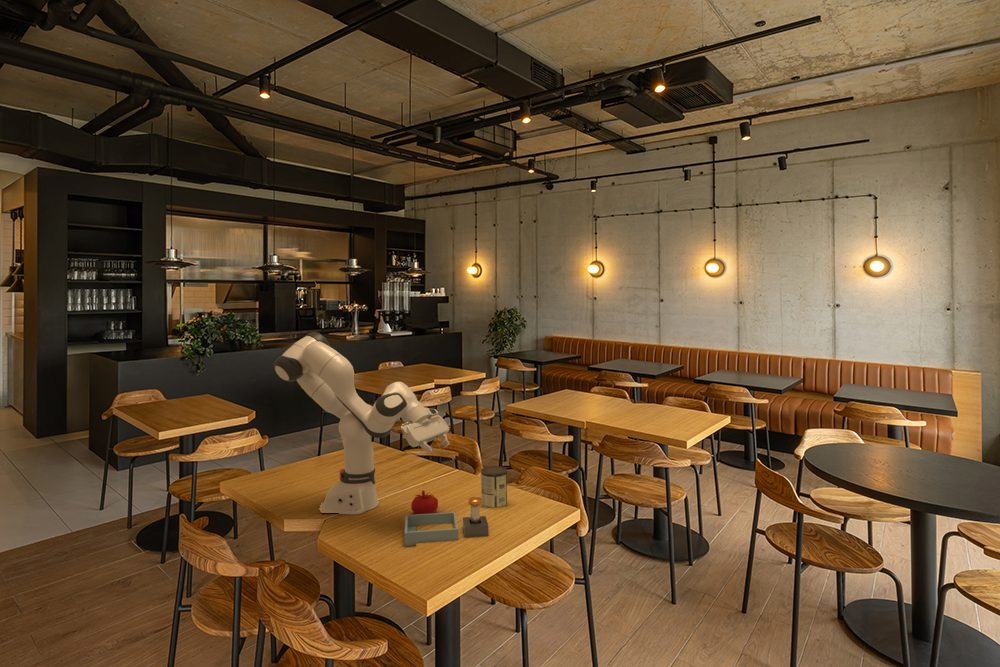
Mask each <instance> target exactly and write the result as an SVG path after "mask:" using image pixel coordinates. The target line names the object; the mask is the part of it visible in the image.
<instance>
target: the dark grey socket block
mask: <svg viewBox="0 0 1000 667" xmlns="http://www.w3.org/2000/svg"><path fill="white" fill-rule="evenodd" d="M462 530H463V534H464V538H477V537H488V536H489V524H488V520H487V516H486V515H482V516H481V515H480V524H471V516H468V517H466V516H465V517H462Z"/></svg>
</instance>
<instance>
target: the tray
mask: <svg viewBox="0 0 1000 667" xmlns="http://www.w3.org/2000/svg"><path fill="white" fill-rule="evenodd" d="M404 519H405V520H404V521H405V522H404V547H414V546H415V545H416V546H417V543H418V544H419V543H431V542H442V541H457V540H459V526H458V520H457V519H458V518H457V514H456V511H452V512H451V511H449V512H435V513H432V514H416V515H414V514H406V515H405V518H404ZM452 523H453V528H444V529H429V530H428V529H427V530H426V529H425V530H417V529H418V528H417V527H418V526H425V525H440V524H441V525H442V524H452ZM413 545H414V546H413Z"/></svg>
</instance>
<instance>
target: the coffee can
mask: <svg viewBox="0 0 1000 667" xmlns="http://www.w3.org/2000/svg"><path fill="white" fill-rule="evenodd" d="M507 473H508V468H506V467H504V466H499V465H489V466H488V465H487V466H485V467H482V468H481V469H480V479H481V480H480V482H481V484H480V485H481V487H480V488H481V489H480V490H481V492H480V493H481V499H482V503H481V504H480V505H481V508H483V509H492V508H493V509H494V508H506V507H507V506H508V474H507Z"/></svg>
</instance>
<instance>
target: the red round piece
mask: <svg viewBox="0 0 1000 667" xmlns="http://www.w3.org/2000/svg"><path fill="white" fill-rule="evenodd" d="M431 493H432V492H427V493H426V492H425V490H421V492H420V494H416V495H415V497H414V498H413V499H412V501H411V503H410V504H411V505H410V506H411V510H412V512H413V515H416V514H432V513H437V510H438V508H439V499H438V498H437V497H436V496H435V494H431Z"/></svg>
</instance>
